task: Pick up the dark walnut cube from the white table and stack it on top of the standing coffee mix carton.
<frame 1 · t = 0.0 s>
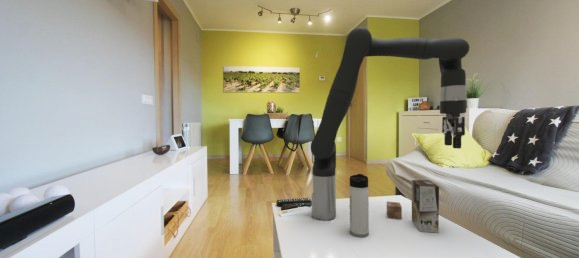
hand: (452, 146, 82), 29 cm above the table, tool pointing down, fingers open, 8 cm apart
coffee box: (424, 227, 85), on the table
walnut block: (393, 216, 95), on the table
travel mug: (359, 233, 82), on the table
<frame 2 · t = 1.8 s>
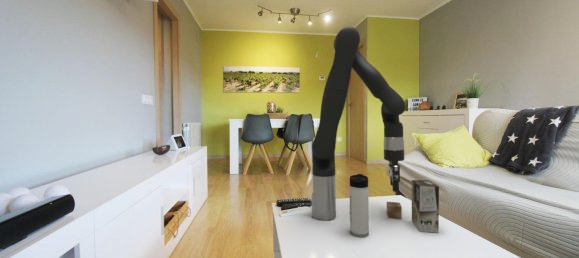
hand: (394, 188, 94), 11 cm above the table, tool pointing down, fingers open, 8 cm apart
nothing on the table moved.
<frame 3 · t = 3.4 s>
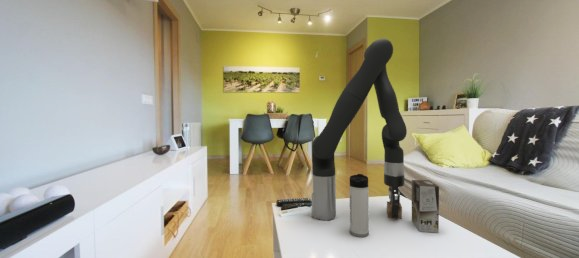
hand: (394, 214, 95), 1 cm above the table, tool pointing down, fingers closed on walnut block, 5 cm apart
walnut block: (394, 216, 95), on the table, touching gripper
everything else where it was.
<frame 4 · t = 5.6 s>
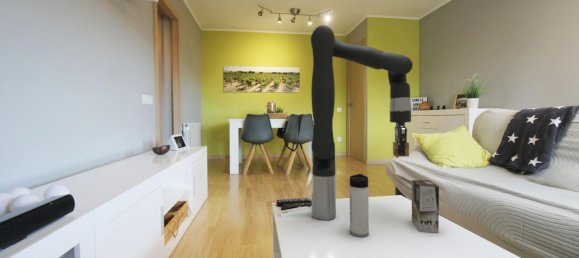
hand: (400, 153, 92), 26 cm above the table, tool pointing down, fingers closed on walnut block, 5 cm apart
walnut block: (400, 155, 92), point 25 cm above the table, touching gripper
everything else where it was.
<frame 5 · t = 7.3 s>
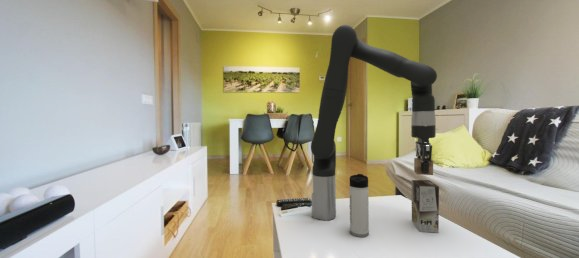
hand: (423, 171, 85), 20 cm above the table, tool pointing down, fingers closed on walnut block, 5 cm apart
walnut block: (423, 173, 85), point 20 cm above the table, touching gripper
everything else where it was.
when the fingers open (18 cm above the table, at t = 8.3 s): walnut block drops 1 cm, resting on coffee box.
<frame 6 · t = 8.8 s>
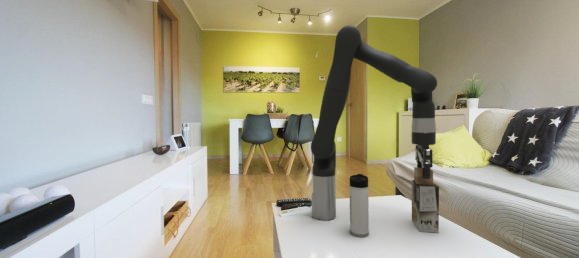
hand: (423, 175, 85), 19 cm above the table, tool pointing down, fingers open, 8 cm apart
coffee box: (424, 227, 85), on the table, touching walnut block
walnut block: (423, 182, 85), point 16 cm above the table, touching coffee box
everything else where it was.
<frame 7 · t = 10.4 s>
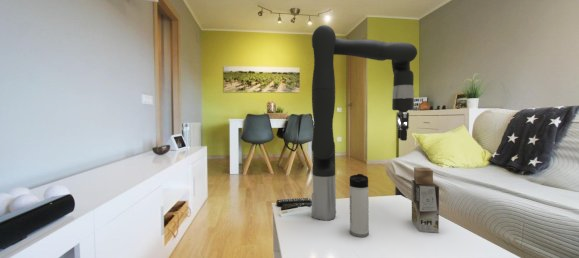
hand: (402, 139, 92), 31 cm above the table, tool pointing down, fingers open, 8 cm apart
nothing on the table moved.
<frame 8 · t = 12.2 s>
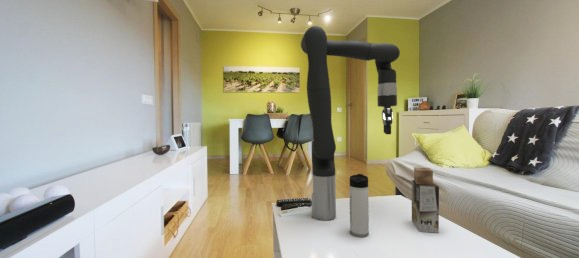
hand: (387, 133, 99), 33 cm above the table, tool pointing down, fingers open, 8 cm apart
nothing on the table moved.
at the end: walnut block inside the target area on the coffee box (0.5 cm from its centre), point 16.3 cm above the coffee box's base; coffee box tilted 0°; the gripper is holding nothing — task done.
